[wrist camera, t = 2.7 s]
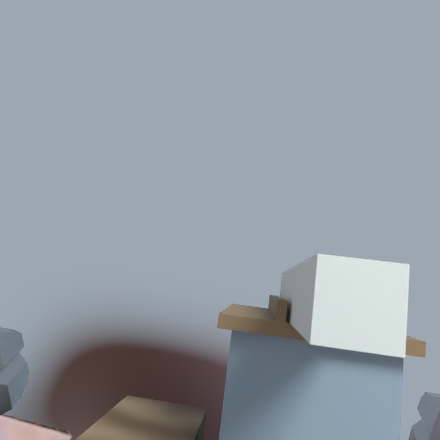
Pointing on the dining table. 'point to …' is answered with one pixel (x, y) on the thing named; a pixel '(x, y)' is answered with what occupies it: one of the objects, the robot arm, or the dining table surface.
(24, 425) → the dining table surface
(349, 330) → the white beam
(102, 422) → the walnut block
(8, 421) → the dining table surface
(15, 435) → the dining table surface
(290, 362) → the cabinet
